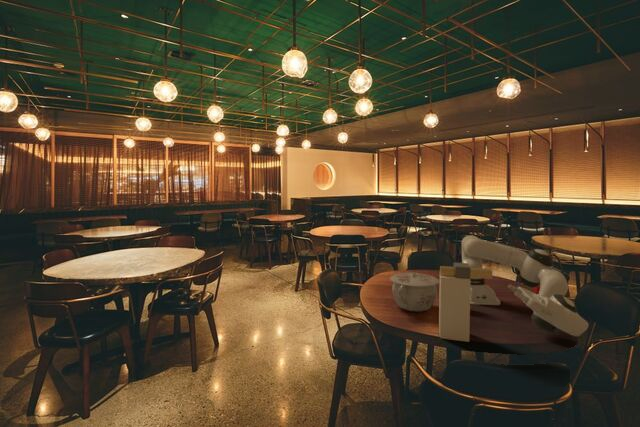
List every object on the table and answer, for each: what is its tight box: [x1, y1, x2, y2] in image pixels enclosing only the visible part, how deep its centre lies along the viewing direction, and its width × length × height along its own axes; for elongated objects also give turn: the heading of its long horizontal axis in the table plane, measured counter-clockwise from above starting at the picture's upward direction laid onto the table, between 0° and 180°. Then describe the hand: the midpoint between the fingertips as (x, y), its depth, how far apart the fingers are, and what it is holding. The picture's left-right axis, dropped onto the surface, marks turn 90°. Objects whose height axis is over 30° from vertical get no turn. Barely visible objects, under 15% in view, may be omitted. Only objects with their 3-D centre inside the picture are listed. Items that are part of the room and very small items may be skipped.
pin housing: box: [438, 262, 471, 343], centre depth 140 cm, size 12×10×33 cm
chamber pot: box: [389, 271, 440, 313], centre depth 175 cm, size 28×28×21 cm
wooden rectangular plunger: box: [439, 265, 493, 280], centre depth 138 cm, size 21×4×4 cm, turn 71°
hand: (512, 289), depth 132 cm, fingers open, 8 cm apart
